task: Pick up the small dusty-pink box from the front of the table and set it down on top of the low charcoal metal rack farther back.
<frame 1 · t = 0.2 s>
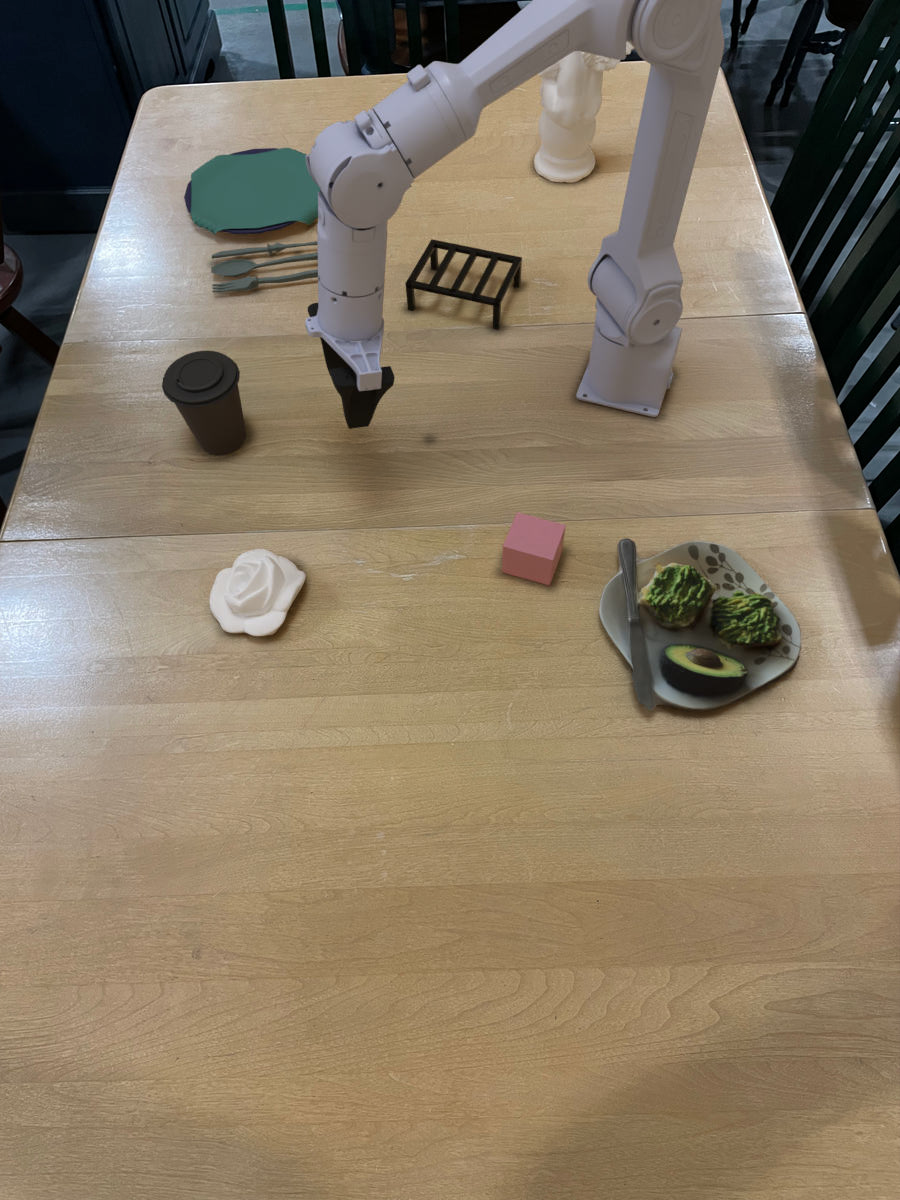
hand: (348, 398, 84), 10 cm above the table, tool pointing down, fingers open, 7 cm apart
rack: (464, 297, 107), on the table
pink box: (532, 561, 85), on the table
cherub figurine: (576, 170, 121), on the table
coffee cup: (223, 438, 96), on the table
avocado toast plate: (694, 635, 81), on the table
rose: (261, 600, 84), on the table
cutlery set: (260, 223, 117), on the table
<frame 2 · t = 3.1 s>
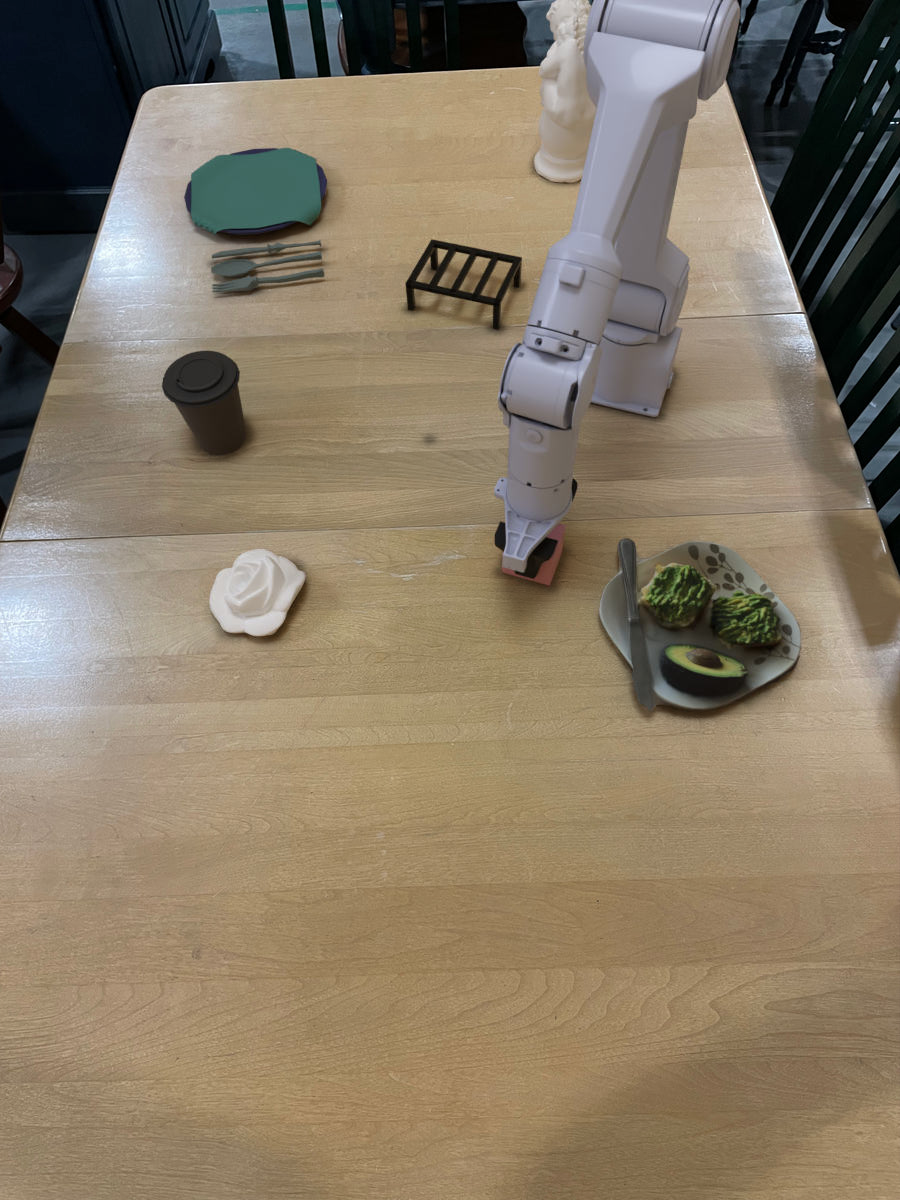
hand: (533, 553, 84), 1 cm above the table, tool pointing down, fingers closed on pink box, 4 cm apart
pink box: (532, 561, 85), on the table, touching gripper
everything else where it was.
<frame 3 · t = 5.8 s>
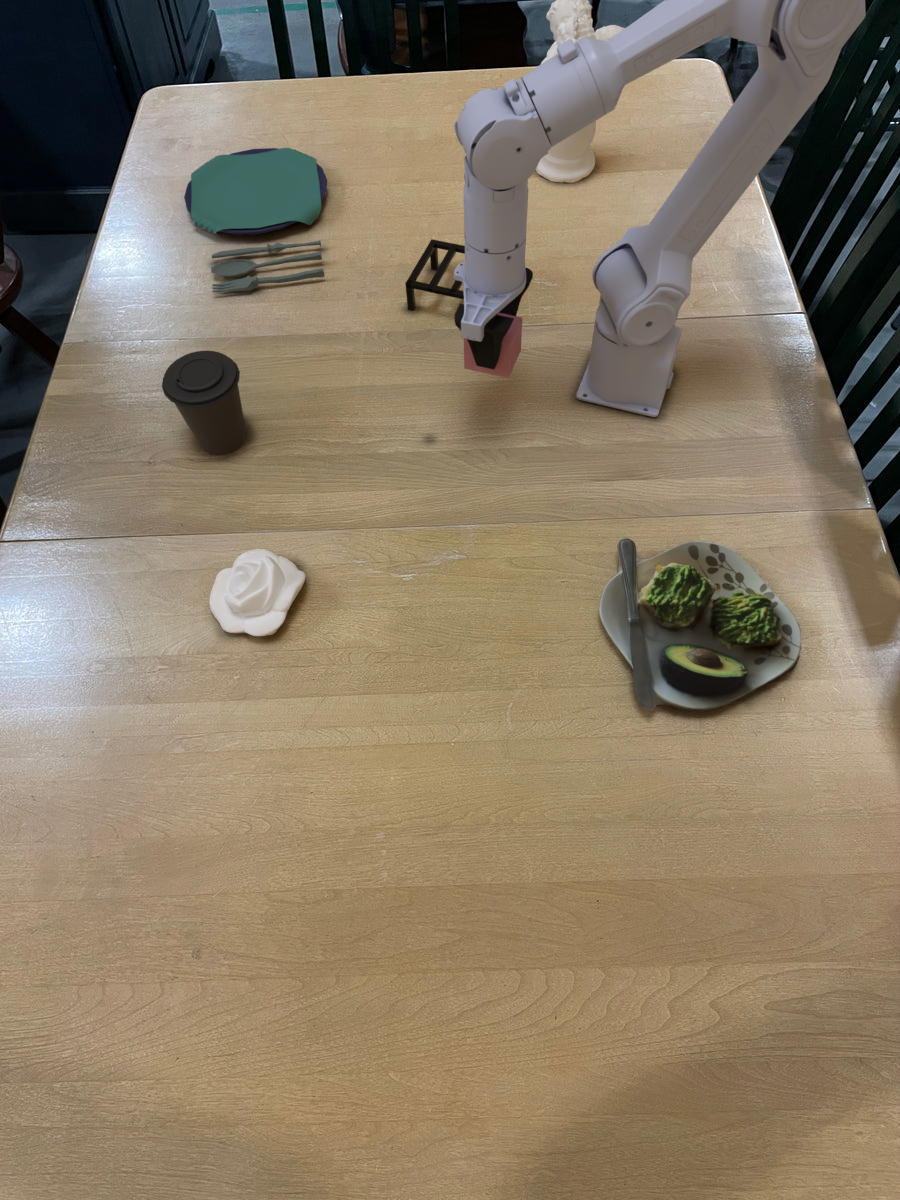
hand: (493, 349, 90), 8 cm above the table, tool pointing down, fingers closed on pink box, 4 cm apart
pink box: (492, 359, 91), point 7 cm above the table, touching gripper
everything else where it was.
when the fingers open (5 cm above the table, at t = 8.5 s): pink box stays where it is, resting on rack.
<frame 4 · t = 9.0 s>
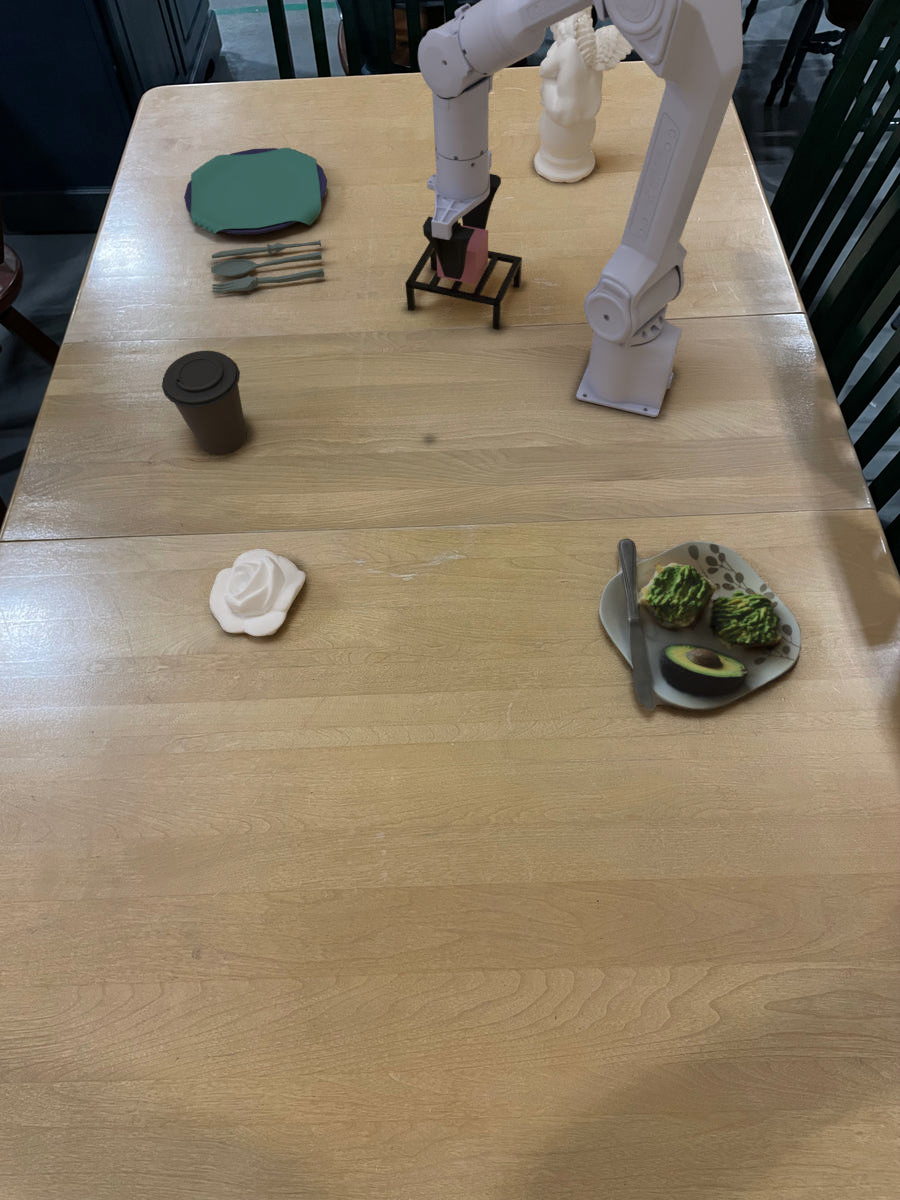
hand: (463, 256, 102), 6 cm above the table, tool pointing down, fingers open, 7 cm apart
pink box: (462, 269, 104), point 4 cm above the table, touching rack
everything else where it was.
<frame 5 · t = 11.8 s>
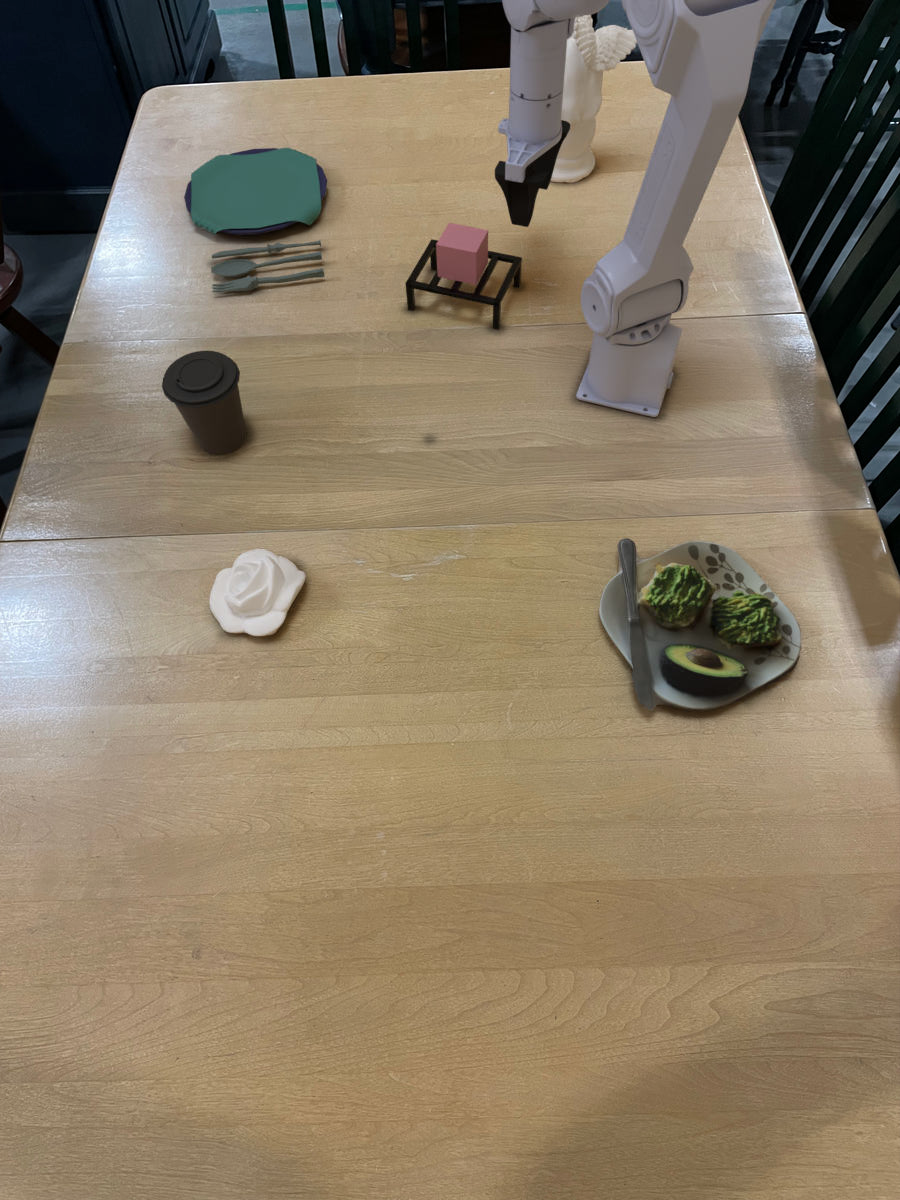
hand: (530, 205, 101), 9 cm above the table, tool pointing down, fingers open, 7 cm apart
nothing on the table moved.
at the end: pink box 0.1 cm off-centre on the rack, point 4.0 cm above the rack's base; pink box tilted 0°; the gripper is holding nothing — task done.
